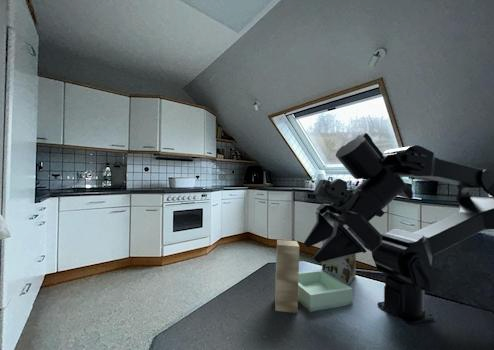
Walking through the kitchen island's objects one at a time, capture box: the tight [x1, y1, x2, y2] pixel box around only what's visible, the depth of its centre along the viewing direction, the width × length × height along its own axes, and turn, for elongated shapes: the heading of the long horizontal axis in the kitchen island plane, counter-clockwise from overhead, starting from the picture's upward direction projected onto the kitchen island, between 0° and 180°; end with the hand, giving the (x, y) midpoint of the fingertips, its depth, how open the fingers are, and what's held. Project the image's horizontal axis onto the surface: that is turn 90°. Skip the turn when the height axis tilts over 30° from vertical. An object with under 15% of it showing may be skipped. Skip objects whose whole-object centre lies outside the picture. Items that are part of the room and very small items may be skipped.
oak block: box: [274, 239, 300, 314], centre depth 43 cm, size 4×4×12 cm
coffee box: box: [321, 238, 357, 287], centre depth 57 cm, size 9×6×16 cm
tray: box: [298, 269, 354, 312], centre depth 47 cm, size 10×10×3 cm
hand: (309, 252), depth 42 cm, fingers open, 9 cm apart
